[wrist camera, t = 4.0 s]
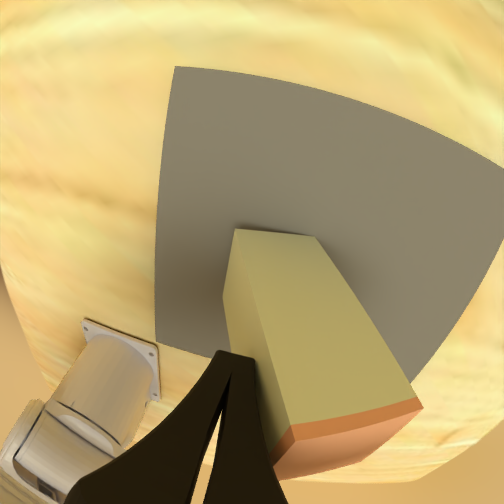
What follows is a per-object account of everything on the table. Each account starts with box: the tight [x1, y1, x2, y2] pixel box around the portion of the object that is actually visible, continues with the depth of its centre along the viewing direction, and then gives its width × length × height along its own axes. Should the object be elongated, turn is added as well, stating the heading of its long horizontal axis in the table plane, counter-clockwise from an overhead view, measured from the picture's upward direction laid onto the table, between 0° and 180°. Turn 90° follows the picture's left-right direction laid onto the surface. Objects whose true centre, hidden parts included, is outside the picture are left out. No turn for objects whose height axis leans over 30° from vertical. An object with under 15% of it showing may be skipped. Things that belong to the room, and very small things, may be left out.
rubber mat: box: [155, 66, 504, 383], centre depth 18 cm, size 20×22×1 cm
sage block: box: [222, 229, 423, 481], centre depth 12 cm, size 4×4×11 cm
